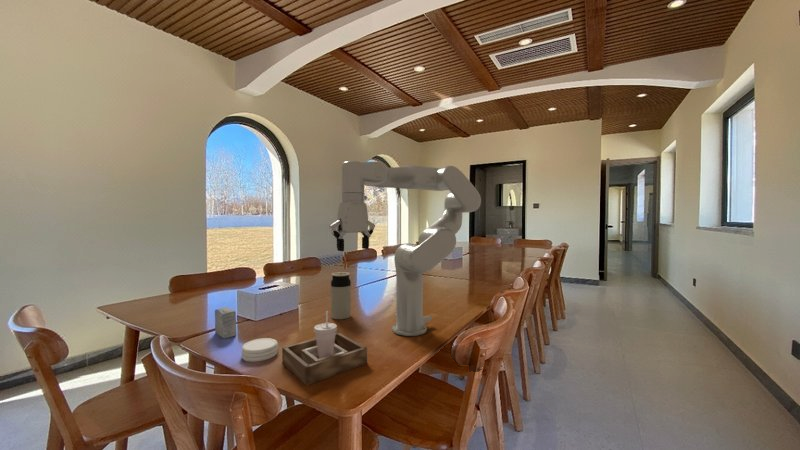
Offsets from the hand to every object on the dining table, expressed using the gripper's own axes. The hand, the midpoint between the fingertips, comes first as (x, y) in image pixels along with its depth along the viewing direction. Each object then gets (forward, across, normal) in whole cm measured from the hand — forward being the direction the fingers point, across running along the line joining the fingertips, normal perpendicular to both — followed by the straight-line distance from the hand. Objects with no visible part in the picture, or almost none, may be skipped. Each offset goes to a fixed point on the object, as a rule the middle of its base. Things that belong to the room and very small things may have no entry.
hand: (353, 249), depth 109 cm
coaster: (+31, +28, -8) cm, 42 cm away
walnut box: (+30, +16, +10) cm, 36 cm away
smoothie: (+30, +16, +10) cm, 35 cm away
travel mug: (+31, -9, -24) cm, 40 cm away
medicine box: (+31, +32, -33) cm, 55 cm away
